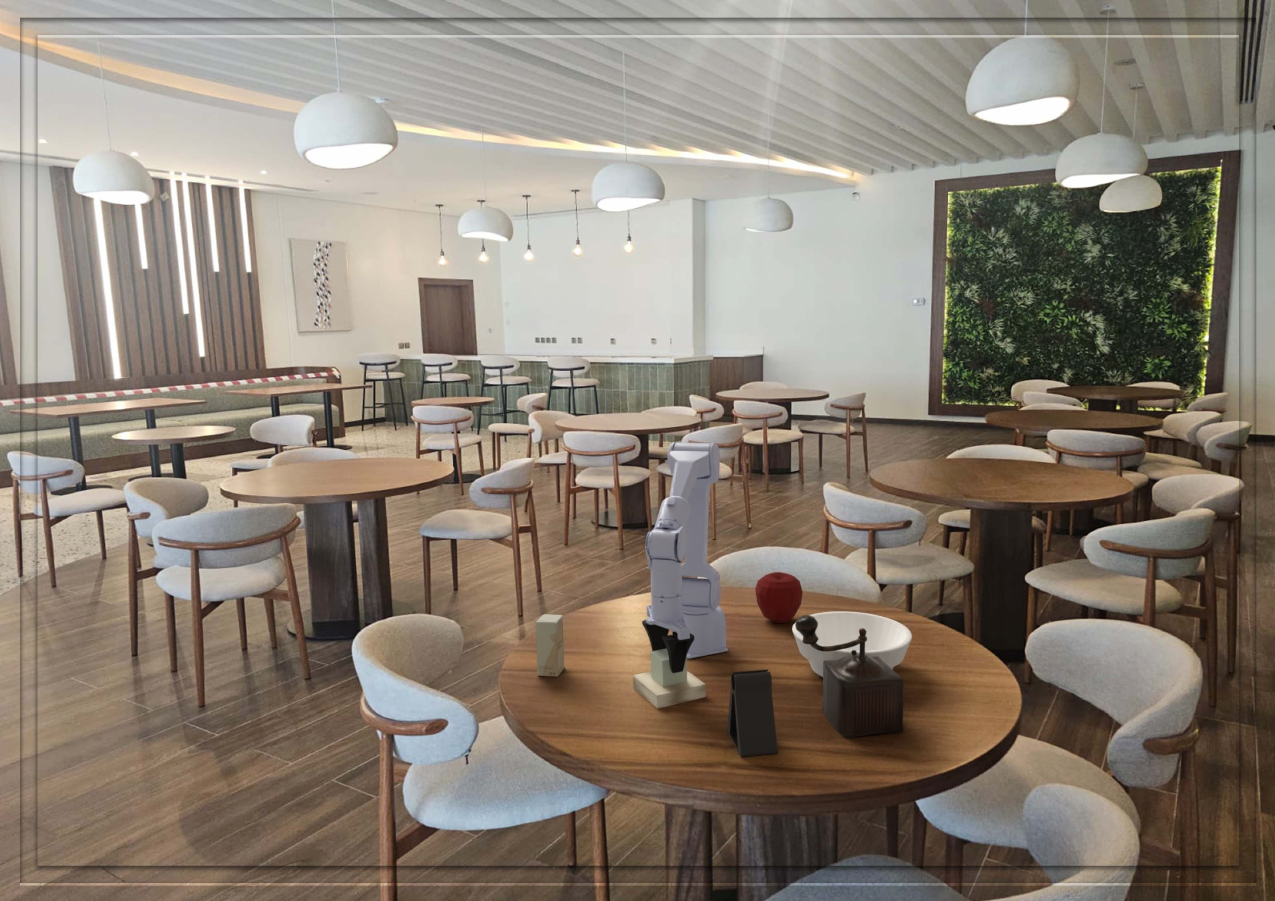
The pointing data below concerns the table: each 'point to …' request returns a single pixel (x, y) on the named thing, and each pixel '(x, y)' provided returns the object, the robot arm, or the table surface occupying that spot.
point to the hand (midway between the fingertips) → (668, 664)
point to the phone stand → (752, 713)
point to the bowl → (844, 627)
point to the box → (550, 645)
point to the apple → (779, 596)
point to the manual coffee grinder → (857, 688)
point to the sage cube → (665, 669)
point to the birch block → (668, 690)
